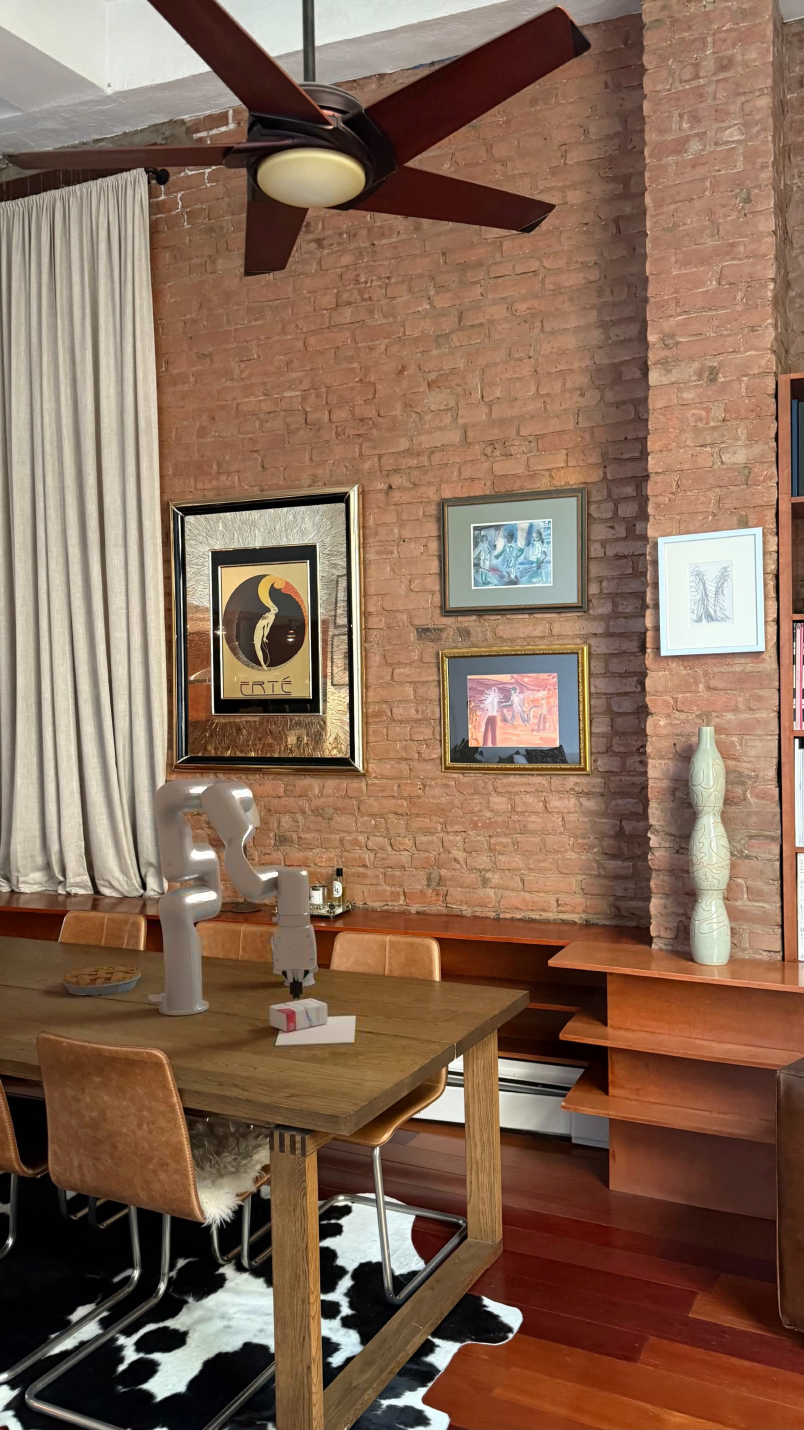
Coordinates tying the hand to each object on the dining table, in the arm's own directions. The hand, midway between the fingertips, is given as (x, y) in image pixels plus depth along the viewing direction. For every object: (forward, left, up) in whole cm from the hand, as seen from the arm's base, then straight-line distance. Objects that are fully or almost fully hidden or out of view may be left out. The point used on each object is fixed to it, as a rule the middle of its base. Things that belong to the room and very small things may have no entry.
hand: (296, 997), depth 261 cm
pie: (-59, +52, -9) cm, 79 cm away
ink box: (-5, +1, -5) cm, 7 cm away
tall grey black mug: (-5, +50, -8) cm, 51 cm away
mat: (+5, 0, -8) cm, 9 cm away
